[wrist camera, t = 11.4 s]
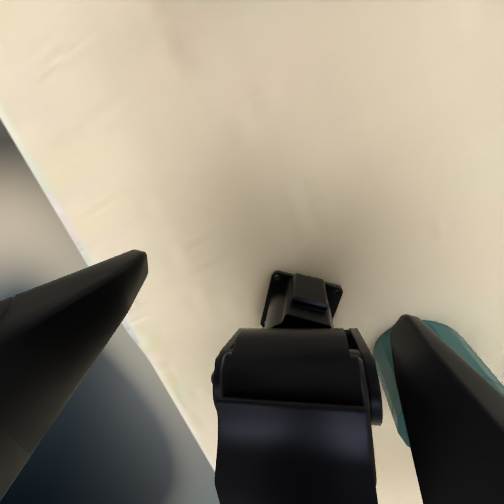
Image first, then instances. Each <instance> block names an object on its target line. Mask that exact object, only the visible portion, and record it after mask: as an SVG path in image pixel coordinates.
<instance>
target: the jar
mask: <svg viewBox="0 0 504 504" xmlns="http://www.w3.org/2000/svg"><path fill="white" fill-rule="evenodd" d="M422 322H423V323H425V324H426V325H427V326H428V327H429V328H430V329H431V330H432V331H433V332H434V333H436V334H437V335H438V336H439V337H440V338H441V339H442V340H443V341H444V342H445V343H446V344H448V345H449V346H450V347H451V348H452V349H453V350H454V351H455V352H456V353H457V354H459V355H460V356H461V357H462V358H463V359H464V360H465V361H466V362H467V363H468V364H470V365H471V366H472V367H473V368H474V369H475V370H476V371H477V372H478V373H479V374H481V375H482V376H483V377H484V378H485V379H486V380H487V381H488V382H489V383H490V384H492V385H493V386H494V387H495V388H496V389H497V390H498V391H499V392H500V393H501V394H502V395H504V386H503V385H502V384H501V382H500V381H499V380H498V379H497V378H496V376H495V375H494V374H493V373H492V372H491V371H490V369H489V368H488V367H487V366H486V365H485V364H484V362H483V361H482V360H481V359H480V358H479V357H478V355H477V354H476V353H475V352H474V351H473V349H472V348H471V347H470V346H469V345H468V344H467V342H466V341H465V340H464V339H463V338H462V337H461V336H459V334H458V333H457V332H455V331H454V330H453V329H451V328H449V327H448V326H445V325H443V324H440V323H437V322H432V321H422ZM391 329H392V328H391ZM391 329H389V330H388V331H387V332H385V333H384V334H383V335H382V336H381V337H380V338H379V340H378V341H377V343H376V345H375V348H374V360H375V366H376V369H377V372H378V374H379V377H380V380H381V383H382V386H383V389H384V392H385V395H386V398H387V401H388V404H389V407H390V410H391V413H392V416H393V419H394V422H395V425H396V428H397V431H398V433H399V435H400V436H401V438H402V439H403V441H404V442H405V443H406V445H407V446H409V447H410V443H409V439H408V434H407V430H406V425H405V421H404V417H403V412H402V408H401V403H400V399H399V395H398V390H397V386H396V381H395V375H394V367H393V358H392V350H391V341H390V331H391ZM410 448H411V447H410Z"/></svg>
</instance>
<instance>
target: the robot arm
mask: <svg viewBox="0 0 504 504" xmlns="http://www.w3.org/2000/svg"><path fill="white" fill-rule="evenodd" d="M147 274H148V262H147V254H146V253H145V252H143V251H139V250H131V251H128V252H126V253H123V254H121V255H118V256H116V257H113V258H110V259H108V260H105V261H103V262H100V263H98V264H95V265H93V266H90V267H87V268H85V269H82V270H80V271H77V272H75V273H72V274H70V275H67V276H64V277H62V278H59V279H57V280H54V281H51V282H49V283H46V284H44V285H41V286H38V287H36V288H33V289H31V290H28V291H26V292H23V293H20V294H18V295H16V296H15V297H10V298H7V299H5V300H2V301H0V501H1V499H2V498H3V496H4V495H5V493H6V492H7V490H8V489H9V487H10V486H11V485H12V483H13V482H14V480H15V478H16V477H17V476H18V474H19V473H20V471H21V470H22V468H23V467H24V465H25V464H26V462H27V461H28V459H29V458H30V455H31V454H32V453H33V452H34V450H35V449H36V447H37V446H38V444H39V443H40V441H41V440H42V438H43V437H44V436H45V434H46V433H47V431H48V430H49V428H50V427H51V425H52V424H53V422H54V421H55V419H56V418H57V416H58V415H59V413H60V412H61V410H62V409H63V407H64V406H65V405H66V403H67V401H68V400H69V399H70V397H71V396H72V394H73V392H74V391H75V390H76V388H77V387H78V385H79V384H80V382H81V381H82V380H83V378H84V377H85V375H86V374H87V372H88V371H89V369H90V368H91V366H92V365H93V363H94V362H95V360H96V359H97V357H98V356H99V354H100V353H101V351H102V350H103V349H104V347H105V345H106V344H107V343H108V341H109V340H110V338H111V337H112V335H113V334H114V332H115V331H116V329H117V328H118V326H119V325H120V323H121V322H122V321H123V319H124V317H125V316H126V314H127V313H128V311H129V309H130V307H131V306H132V304H133V302H134V300H135V298H136V296H137V294H138V292H139V290H140V288H141V287H142V285H143V283H144V281H145V279H146V277H147ZM275 275H279V276H280V277H279V278H276V277H275ZM335 290H339V291H338V292H334V291H335ZM342 293H343V291H342V288H341V287H340V286H339V285H335V284H331V283H327V282H324V281H323V280H322V279H318V278H314V277H309V276H305V275H301V274H297V273H296V274H290V273H286V272H282V271H274V272H273V274H272V277H271V281H270V286H269V290H268V294H267V298H266V302H265V307H264V311H263V315H262V319H261V326H262V327H264V329H246V328H240V329H239V330H238V331H237V332H236V333H235V334H234V335H233V337H232V338H231V339H230V340H229V341H228V343H227V344H226V345H225V346H224V347H223V348H222V350H221V351H220V353H219V355H218V356H217V358H216V360H215V370H214V372H213V373H212V376H211V382H212V384H213V400H214V405H215V407H216V410H217V415H218V445H217V458H216V470H215V486H216V490H217V494H218V498H219V501H220V504H378V500H377V493H376V468H375V458H374V448H373V438H372V428H371V425H378V426H381V424H382V418H383V410H382V398H381V390H380V384H379V379H378V374H377V370H376V366H375V362H374V359H373V356H372V354H371V352H370V350H369V349H368V347H367V345H366V343H365V341H364V340H363V338H362V336H361V334H360V333H359V331H358V329H357V328H349V330H344V329H343V328H334V327H333V321H332V320H333V317H334V314H335V312H336V309H337V306H338V304H339V301H340V299H341V296H342ZM264 322H265V323H264ZM390 341H391V350H392V358H393V367H394V375H395V381H396V386H397V390H398V395H399V399H400V403H401V408H402V412H403V417H404V421H405V425H406V430H407V434H408V439H409V443H410V447H411V452H412V456H413V461H414V465H415V469H416V474H417V478H418V483H419V487H420V491H421V496H422V500H423V504H504V395H502V394H501V393H500V392H499V391H498V390H497V389H496V388H495V387H494V386H493V385H492V384H490V383H489V382H488V381H487V380H486V379H485V378H484V377H483V376H482V375H481V374H479V373H478V372H477V371H476V370H475V369H474V368H473V367H472V366H471V365H470V364H468V363H467V362H466V361H465V360H464V359H463V358H462V357H461V356H460V355H459V354H457V353H456V352H455V351H454V350H453V349H452V348H451V347H450V346H449V345H448V344H446V343H445V342H444V341H443V340H442V339H441V338H440V337H439V336H438V335H437V334H436V333H434V332H433V331H432V330H431V329H430V328H429V327H428V326H427V325H426V324H425V323H423V322H422V321H421V320H420V319H419V318H418V317H415V316H411V315H407V314H405V315H402V316H401V317H400V319H399V320H398V321H397V322H396V324H395V325H394V326H393V327H392V329H391V331H390Z"/></svg>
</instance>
